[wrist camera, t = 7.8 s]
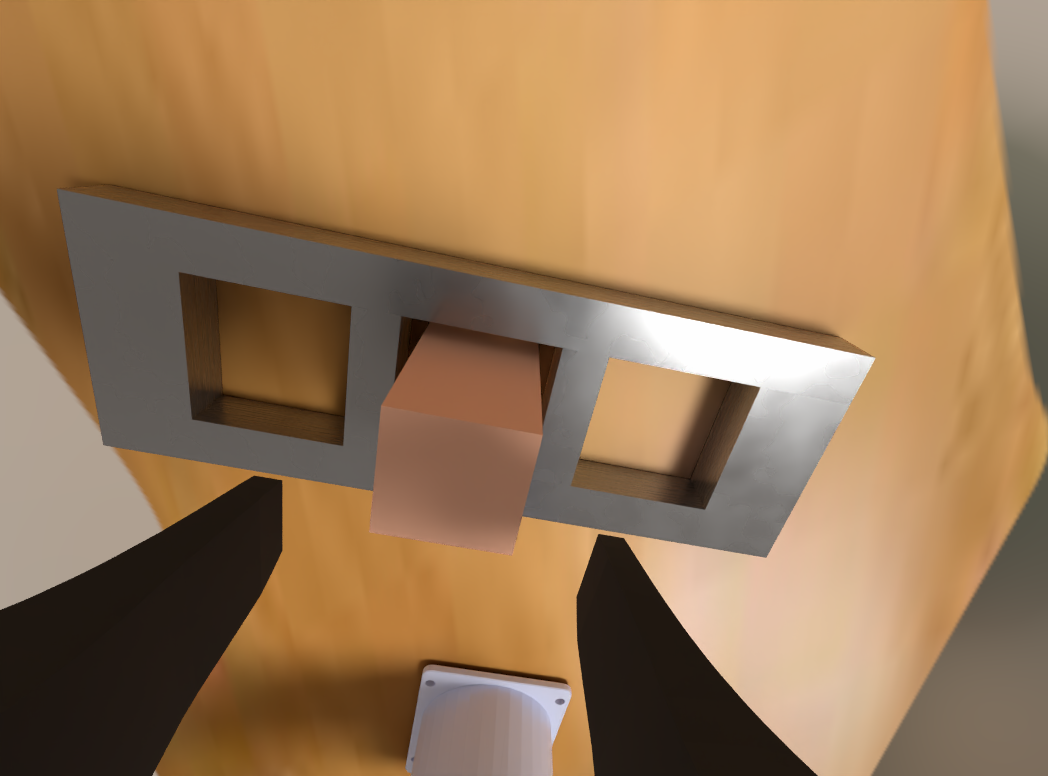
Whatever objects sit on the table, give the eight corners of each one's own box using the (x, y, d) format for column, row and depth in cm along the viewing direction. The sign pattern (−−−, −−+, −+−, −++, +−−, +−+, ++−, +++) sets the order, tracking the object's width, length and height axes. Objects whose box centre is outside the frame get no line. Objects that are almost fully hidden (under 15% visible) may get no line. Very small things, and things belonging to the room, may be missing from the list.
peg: (517, 430, 20) (512, 555, 14) (419, 412, 20) (369, 532, 14) (538, 339, 19) (542, 435, 12) (431, 318, 18) (380, 405, 12)
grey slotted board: (746, 524, 22) (766, 557, 20) (141, 419, 20) (103, 445, 18) (841, 337, 18) (875, 357, 17) (108, 184, 16) (56, 188, 15)
